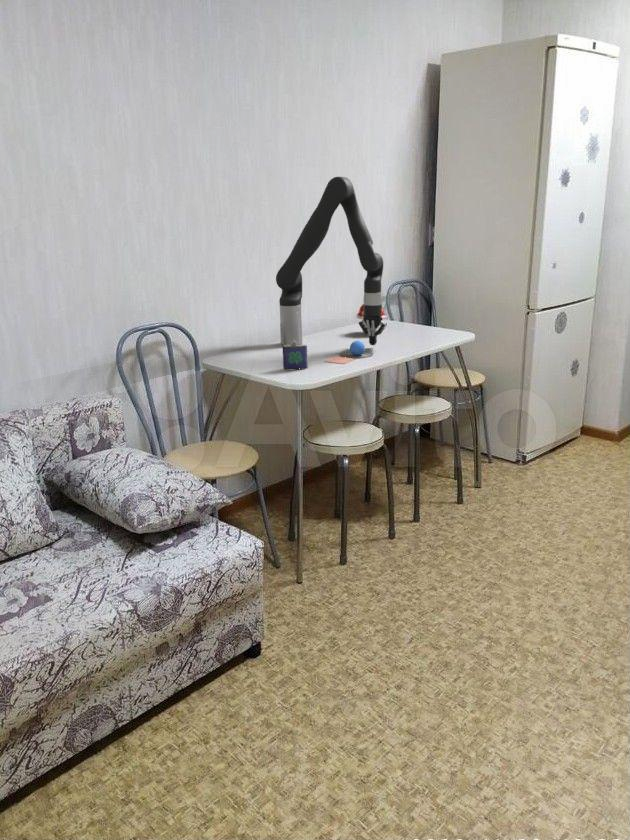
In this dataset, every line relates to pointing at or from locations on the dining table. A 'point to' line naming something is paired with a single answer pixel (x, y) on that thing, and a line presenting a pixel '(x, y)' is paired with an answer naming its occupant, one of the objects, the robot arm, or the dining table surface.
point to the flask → (295, 356)
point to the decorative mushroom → (361, 314)
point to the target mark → (350, 355)
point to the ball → (357, 348)
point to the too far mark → (339, 360)
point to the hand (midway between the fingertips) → (372, 344)
